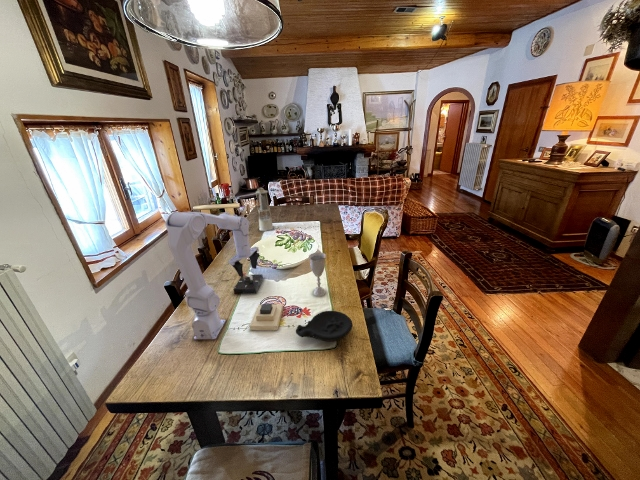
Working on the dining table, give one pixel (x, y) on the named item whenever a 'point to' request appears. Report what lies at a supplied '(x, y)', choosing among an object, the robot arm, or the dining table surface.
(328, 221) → the dining table surface
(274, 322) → the stepped cream base
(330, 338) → the oil lamp
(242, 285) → the browning panel
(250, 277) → the dial
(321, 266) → the chalice
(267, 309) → the switch
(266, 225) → the lamp
